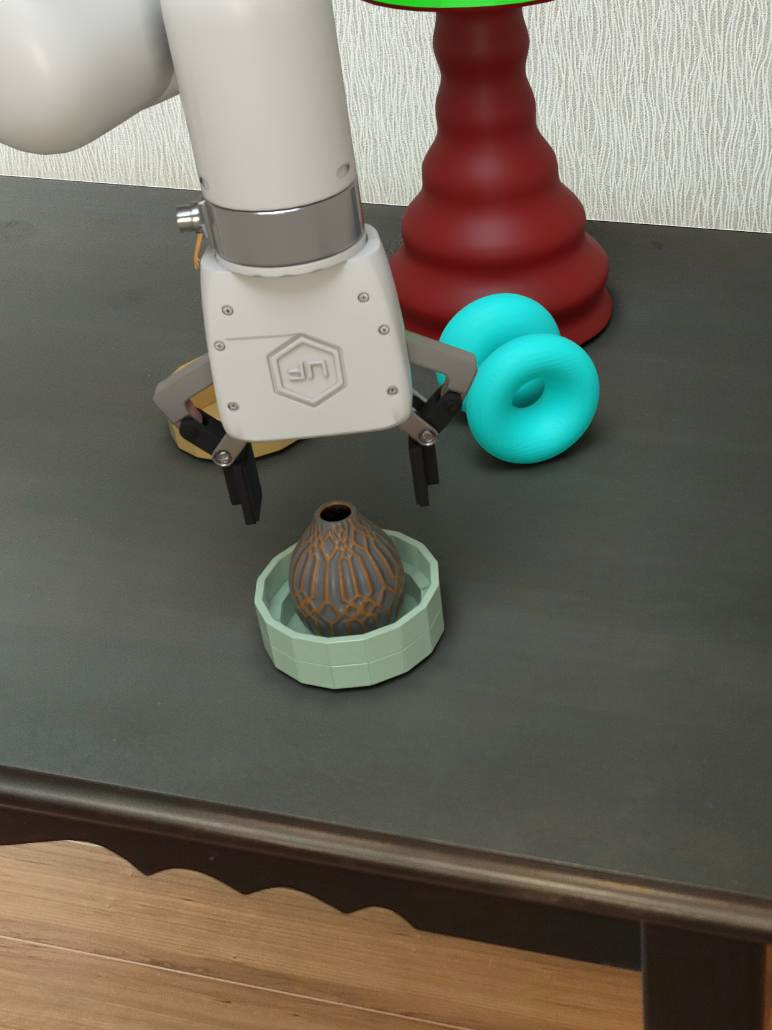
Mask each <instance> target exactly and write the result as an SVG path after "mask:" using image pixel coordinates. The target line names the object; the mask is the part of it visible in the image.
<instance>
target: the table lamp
mask: <svg viewBox="0 0 772 1030" xmlns="http://www.w3.org/2000/svg"><path fill="white" fill-rule="evenodd" d="M360 1H362V2H364V3H367V4H370V5H373V6H377V7H381V8H387V9H392V10H400V11H410V12H418V13H434V14H435V21H434V27H433V34H432V50H433V55H434V59H435V60H436V63H437V66H438V69H439V73H440V80H439V86H438V89H437V94H436V97H435V103H434V112H435V120H436V128H437V129H436V134H435V137H434V140H433V142H432V143H431V145H430V146H429V148H428V150H427V152H426V153H425V156H424V157H423V160H422V163H421V182H422V184H421V188H420V190H419V192H418V193H417V194H416V195H415V196H414V198H412V200H411V201H410V203H409V204H408V205H407V207H406V209H405V211H404V213H403V215H402V217H401V219H400V222H401V223H400V234H401V237H402V238H401V239H402V242H403V243H402V244H401V245H400V246H399V247H398V248H397V250H395V252H394V253H393V254H392V255H391V257H390V258H389V260H388V262H389V265H390V269H391V272H392V276H393V279H394V283H395V286H396V291H397V295H398V299H399V304H400V308H401V313H402V318H403V322H404V328H405V330H408V331H411V332H414V333H417V334H419V335H422V336H425V337H428V338H431V339H434V340H437V341H439V339H440V337H441V335H442V333H443V331H444V329H445V328H446V326H447V325H448V323H449V322H450V321H451V319H452V318H453V317H454V316H455V315H456V314H457V313H458V312H459V311H460V310H461V309H463V308H464V307H465V306H467V305H468V304H470V303H472V302H474V301H476V300H478V299H480V298H483V297H486V296H489V295H493V294H500V293H512V294H518V295H522V296H525V297H528V298H530V299H532V300H534V301H536V302H538V303H539V304H540V305H542V306H543V307H544V308H545V309H546V310H547V311H548V312H549V313H550V314H551V316H552V317H553V319H554V320H555V322H556V324H557V327H558V329H559V332H560V336H562V337H565V338H567V339H569V340H571V341H573V342H574V343H576V344H577V345H579V346H580V347H581V346H582V345H584V344H585V343H587V342H588V341H590V340H592V339H593V338H594V337H596V336H597V335H598V334H599V333H600V332H601V331H602V330H604V329H605V327H606V326H607V324H608V322H609V320H610V319H611V317H612V312H613V302H612V297H611V295H610V292H609V290H608V289H607V288H606V284H607V282H608V279H609V274H610V261H609V257H608V254H607V253H606V251H605V250H604V248H603V247H602V245H601V244H600V243H599V242H598V241H597V240H596V239H595V238H594V237H593V236H592V235H591V234H589V233H588V232H587V231H586V228H587V227H586V226H587V215H586V211H585V207H584V204H583V203H582V202H581V200H580V199H579V197H578V196H577V195H576V194H575V192H573V191H572V190H571V189H570V188H569V187H568V186H567V185H565V184H564V183H563V182H562V181H561V178H560V174H559V173H560V171H559V163H558V158H557V154H556V152H555V151H554V149H553V147H552V146H551V144H550V143H549V142H548V141H547V139H546V138H545V137H544V136H543V134H542V133H541V131H540V129H539V128H538V125H537V101H536V97H535V94H534V91H533V88H532V86H531V83H530V82H529V81H530V80H529V79H528V76H527V60H528V55H529V50H530V43H531V40H530V39H531V38H530V34H529V29H528V26H527V23H526V20H525V18H524V12H523V8H525V7H530V6H536V5H540V4H546V3H551V2H555V1H556V0H360Z"/></svg>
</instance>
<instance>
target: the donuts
mask: <svg viewBox="0 0 772 1030" xmlns="http://www.w3.org/2000/svg"><path fill="white" fill-rule="evenodd" d="M439 341H440V342H443V343H445V344H448V345H451V346H454V347H457V348H460V349H463V350H466V351H469V352H471V353H473V354H474V355H475V356H476V361H477V369H478V371H477V374H476V377H475V379H474V381H473V383H472V385H471V387H470V390H469V392H468V394H467V395H466V397H465V399H464V401H463V403H462V405H463V406H462V409H461V411H462V412H464V413H465V414H466V419H467V424H468V428H469V430H470V433H471V434H472V436H473V438H474V439H475V440H476V442H477V443H478V445H479V446H480V447H481V448H482V449H483V450H484V451H486V452H487V453H488V454H490V455H491V456H493V457H494V458H497V459H498V460H500V461H504V462H507V463H511V464H512V463H513V464H521V465H522V464H525V465H526V464H537V463H540V462H541V463H542V462H544V461H547V460H550V459H553V458H554V457H557V456H558V455H560V454H562V453H564V452H565V451H567V450H568V449H570V447H572V446H574V444H575V443H576V442H577V441H578V440H579V439H581V437H582V436H583V435H584V433H586V431H587V430H588V428H589V426H590V425H591V424H592V421H593V420H594V417H595V415H596V412H597V408H598V404H599V400H600V379H599V374H598V371H597V369H596V365H595V364H594V362H593V360H592V358H591V357H590V356H589V354H588V353H587V351H586V350H584V348H582V347H581V345H580V346H579V345H577V344H576V343H574V342H573V341H571V340H569V339H567V338H565V337H562V336H560V332H559V329H558V327H557V324H556V322H555V320H554V319H553V317H552V316H551V314H550V313H549V312H548V311H547V310H546V309H545V308H544V307H543V306H542V305H540V304H539V303H538V302H536V301H534V300H532V299H530V298H528V297H525V296H522V295H518V294H512V293H500V294H493V295H489V296H486V297H483V298H480V299H478V300H476V301H474V302H472V303H470V304H468V305H467V306H465V307H464V308H463V309H461V310H460V311H459V312H458V313H457V314H456V315H455V316H454V317H453V318H452V319H451V321H450V322H449V323H448V325H447V326H446V328H445V329H444V331H443V333H442V335H441V337H440V339H439ZM435 376H436V380H437V383H438V386H439V387H440V386H441V385H442V384H443V383H444V381H445V378H446V376H445V375H443V374H441V373H438V372H435Z"/></svg>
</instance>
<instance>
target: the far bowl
mask: <svg viewBox="0 0 772 1030" xmlns="http://www.w3.org/2000/svg"><path fill="white" fill-rule="evenodd" d="M203 355H204V354H203ZM203 355H200V356H198V357H195V358H194V359H192V360H190V361H189V362H186V363H184V364H183V365H180V366H179V367H177V369H176V370H174V371H173V372H172V373H171V374H170V375H169V376H171V375H173V374H174V373H176V372H177V371H179V370H181V369H182V368H184V367H185V366H187V365H189V364H190V363H192V362H193V361H195V360H197V359H198V358H200V357H201V356H203ZM190 400H191V401H192V402H193V405H194V406H195V407H197V408H199V409H201V410H203V411H204V412H206V413H208V414H209V415H211V416H212V417H214V418H216V419H217V420H219V421H220V422H221V418H220V414H219V410H218V406H217V400H216V395H215V390H214V384H213V385H211V386H210V387H208V388H206V389H205V390H203V391H201V392H200V393H198V394H197V395H195V396H193V397H192V398H190ZM166 419H167V418H166ZM167 424H168V427H169V433H170V436H171V437H172V439H173V440H174V442H175V444H176V445H177V447H178V448H179V449H180V450H182V451H184V452H186V453H188V454H189V455H190V454H191V455H192V456H194V457H196V458H198V459H206V460H212V456H211V455H210V454H208V453H206V452H205V451H203V450H202V449H200V448H198V447H197V446H195V445H193V444H192V443H190V442H188V441H187V440H185V439H184V438H182V437H181V435H180V433H179V429H178V428H177V427H176V426H175V425H173V424H172V423H171V422H170V421H169V420H168V419H167ZM297 441H298V440H287V441H276V442H262V443H252V442H251V444H252V449H253V453H254V457H255V459H256V458H259V457H262V456H266V455H269V454H272V453H275V452H279V451H281V450H284V449H285V448H287V447H288V446H290V445H291V444H293V443H295V442H297Z"/></svg>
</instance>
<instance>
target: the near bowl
mask: <svg viewBox="0 0 772 1030" xmlns="http://www.w3.org/2000/svg"><path fill="white" fill-rule="evenodd" d="M381 529H382V530H383V531H384V532H385V533H386V534H387V535H388V536H389V538H390V539H391V540H392V542H393V544H394V545H395V547H396V549H397V551H398V553H399V555H400V558H401V561H402V564H403V568H404V574H405V597H404V602H403V606H402V609H401V612H400V614H399V616H398V619H397V620H396V622H395V623H393V624H390V625H387V626H385V627H382V628H379V629H376V630H374V631H371V632H368V633H365V634H362V635H352V636H341V637H331V638H326V637H320V636H315V635H313V634H312V633H311V632H310V631H309V630H308V629H307V628H306V627H305V626H304V624H303V623H302V621H301V620H300V618H299V617H298V615H297V613H296V611H295V609H294V606H293V603H292V599H291V595H290V590H289V580H288V575H289V566H290V561H291V556H292V553H293V551H294V548H295V546H296V544H297V543H298V541H297V542H295V543H294V544H292V545H290V546H289V547H288V548H286V549H284V550H283V551H281V552H279V553H278V554H277V555H275V556H274V557H273V558H272V559H271V560H270V561H269V562H268V564H267V565H266V567H265V568H264V569H263V571H262V572H261V573H260V574H259V576H258V577H257V578H256V585H255V586H256V587H255V593H254V598H253V599H254V600H253V603H254V608H255V612H256V616H257V621H258V624H259V628H260V634H261V639H262V642H263V646H264V648H265V650H266V652H267V654H268V656H269V658H270V660H271V662H272V663H273V666H274V667H275V668H276V669H278V670H279V671H281V672H282V673H284V674H286V675H287V676H289V677H291V678H292V679H294V680H296V681H297V682H299V683H301V684H305V685H311V686H315V687H321V688H326V689H331V690H339V689H340V690H341V689H349V688H359V687H360V688H361V687H370V686H374V685H377V684H379V683H381V682H385V681H387V680H389V679H392V678H394V677H398V676H401V675H404V674H405V673H407V672H409V671H410V670H411V669H413V668H414V667H416V666H417V665H418V664H419V663H420V662H422V661H423V660H424V659H426V658H427V657H428V656H429V655H430V654H432V653H433V651H434V649H435V647H436V645H437V644H438V642H439V640H440V639H441V636H442V634H443V633H444V631H445V617H444V602H443V595H442V586H441V578H440V577H441V576H440V567H439V562H438V560H437V559H436V557H435V556H434V555H433V554H432V553H431V551H430V550H429V549H428V548H427V546H426V545H425V544H424V543H422V541H421V542H420V541H418V540H416V539H415V538H413V537H410V536H408V535H406V534H404V533H402V532H400V531H397V530H391V529H386V528H385V529H384V528H381Z"/></svg>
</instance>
